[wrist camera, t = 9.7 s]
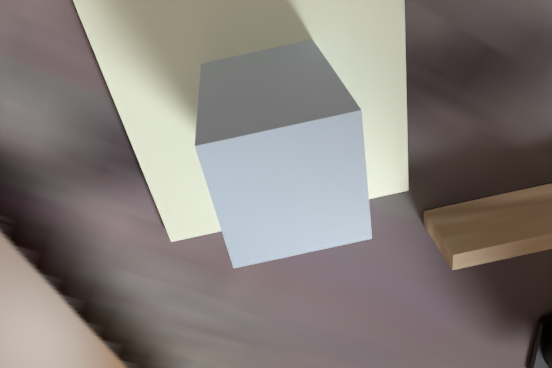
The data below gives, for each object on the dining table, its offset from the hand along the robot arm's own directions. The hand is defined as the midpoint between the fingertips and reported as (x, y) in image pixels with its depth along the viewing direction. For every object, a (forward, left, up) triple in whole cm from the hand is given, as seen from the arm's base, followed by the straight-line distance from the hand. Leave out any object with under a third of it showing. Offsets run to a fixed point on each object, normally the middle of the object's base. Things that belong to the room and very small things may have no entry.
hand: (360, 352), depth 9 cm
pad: (0, +1, -13) cm, 13 cm away
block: (0, +1, -12) cm, 12 cm away
